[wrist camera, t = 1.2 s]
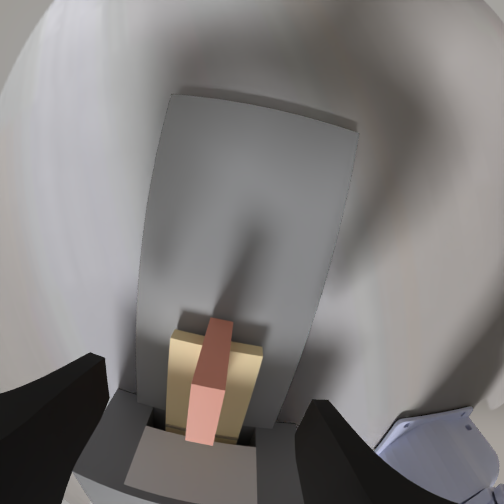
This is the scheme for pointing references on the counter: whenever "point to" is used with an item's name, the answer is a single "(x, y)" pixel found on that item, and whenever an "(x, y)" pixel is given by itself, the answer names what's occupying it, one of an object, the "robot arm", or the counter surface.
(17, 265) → the counter surface
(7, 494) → the robot arm
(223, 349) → the beige wooden board
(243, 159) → the dispenser
